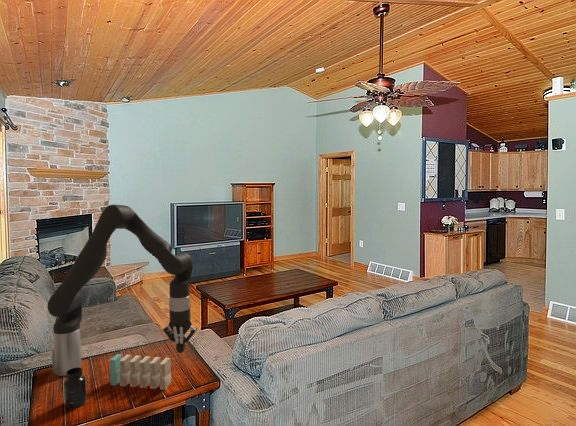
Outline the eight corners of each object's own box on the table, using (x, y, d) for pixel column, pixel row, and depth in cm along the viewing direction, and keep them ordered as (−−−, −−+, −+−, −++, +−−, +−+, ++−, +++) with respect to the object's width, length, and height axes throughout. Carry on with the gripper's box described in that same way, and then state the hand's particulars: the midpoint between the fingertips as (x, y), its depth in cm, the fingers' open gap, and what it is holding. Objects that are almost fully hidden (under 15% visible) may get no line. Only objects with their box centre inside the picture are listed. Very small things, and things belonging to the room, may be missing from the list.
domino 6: (160, 389, 140) (159, 363, 139) (166, 382, 145) (165, 357, 144) (165, 390, 140) (164, 364, 139) (171, 382, 145) (170, 358, 144)
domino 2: (120, 386, 142) (119, 360, 141) (127, 379, 147) (126, 354, 146) (125, 386, 142) (124, 361, 141) (132, 379, 147) (131, 355, 146)
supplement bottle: (70, 398, 134) (69, 365, 133) (90, 397, 134) (89, 365, 133) (60, 409, 127) (59, 376, 126) (81, 409, 128) (80, 375, 127)
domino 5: (150, 388, 141) (149, 363, 140) (156, 381, 146) (155, 356, 145) (155, 389, 140) (154, 363, 139) (161, 381, 145) (160, 357, 144)
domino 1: (110, 385, 143) (109, 359, 142) (117, 378, 148) (117, 353, 147) (115, 385, 142) (114, 360, 141) (122, 378, 147) (122, 354, 146)
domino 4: (140, 387, 141) (139, 362, 140) (146, 380, 146) (146, 356, 145) (145, 388, 141) (144, 362, 140) (151, 381, 146) (151, 356, 145)
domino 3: (130, 386, 142) (129, 361, 141) (136, 379, 146) (136, 355, 146) (135, 387, 141) (134, 361, 140) (141, 380, 146) (141, 355, 145)
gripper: (200, 304, 142) (201, 348, 143) (167, 303, 143) (168, 346, 145) (193, 311, 134) (193, 357, 136) (158, 309, 136) (159, 355, 138)
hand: (180, 352), depth 141 cm, fingers closed
